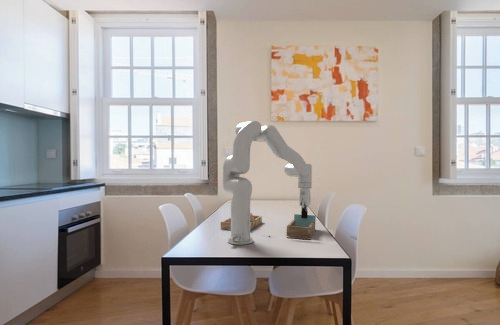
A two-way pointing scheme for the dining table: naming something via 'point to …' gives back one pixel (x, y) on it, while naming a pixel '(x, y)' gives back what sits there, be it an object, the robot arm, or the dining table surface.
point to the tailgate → (304, 220)
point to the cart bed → (300, 230)
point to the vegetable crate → (257, 220)
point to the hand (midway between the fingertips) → (304, 217)
